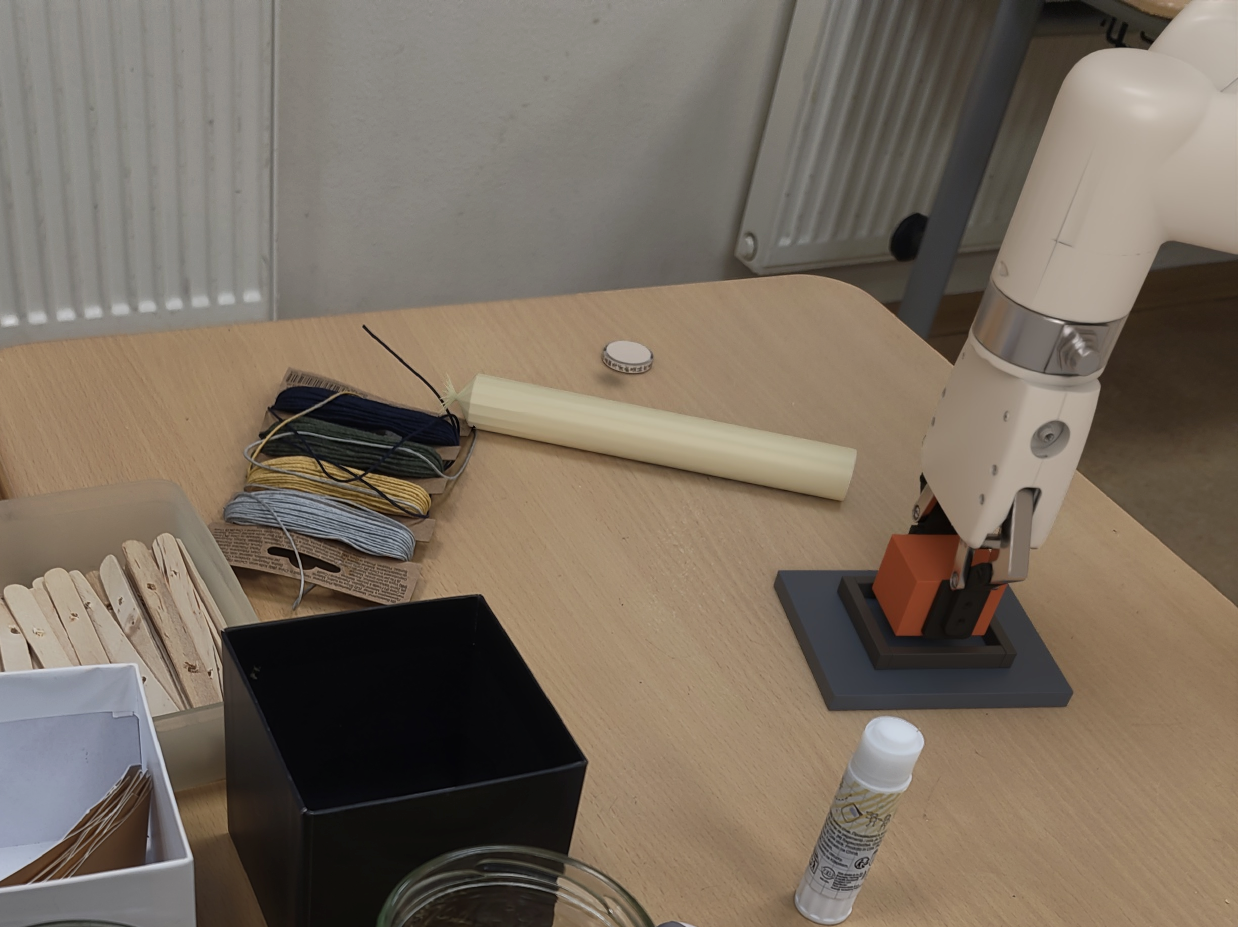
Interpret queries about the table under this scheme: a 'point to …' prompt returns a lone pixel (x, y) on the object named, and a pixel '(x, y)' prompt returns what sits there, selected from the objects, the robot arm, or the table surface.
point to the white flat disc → (627, 356)
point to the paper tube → (655, 436)
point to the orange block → (922, 580)
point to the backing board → (913, 651)
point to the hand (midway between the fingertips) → (930, 606)
